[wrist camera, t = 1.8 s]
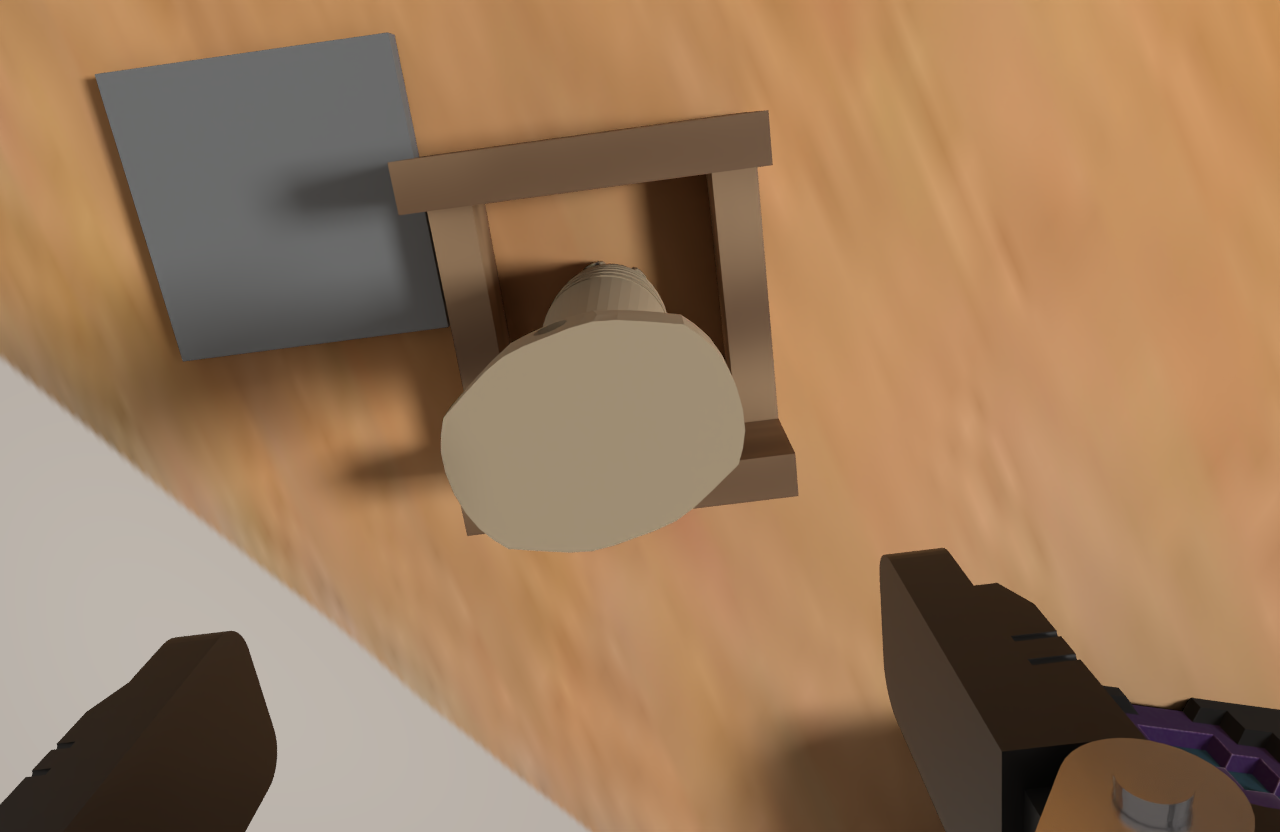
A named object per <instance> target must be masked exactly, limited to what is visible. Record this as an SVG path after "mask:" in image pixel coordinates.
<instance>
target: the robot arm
mask: <svg viewBox="0 0 1280 832" xmlns="http://www.w3.org/2000/svg"><path fill="white" fill-rule="evenodd" d="M880 593H881V614H882V635H883V656H884V670H885V678H886V684H887V689H888V694H889V698H890V702H891V706H892V709H893V712H894V715H895V717H896V720H897V722H898V725H899V727H900V729H901V731H902V734H903V736H904V738H905V740H906V743H907V745H908V747H909V750H910V752H911V754H912V756H913V759H914V761H915V763H916V765H917V768H918V770H919V772H920V775H921V777H922V779H923V781H924V784H925V786H926V788H927V790H928V793H929V795H930V797H931V800H932V802H933V804H934V806H935V809H936V811H937V813H938V815H939V818H940V820H941V822H942V825H943V827H944V829H945V831H946V832H1280V809H1275V808H1269V807H1263V806H1259V805H1255V804H1252V803H1249V801H1248V799H1247V797H1246V796H1245V794H1244V793H1243V792H1242V790H1241V789H1240V788H1239V787H1238V786H1237V785H1236V783H1235V782H1234V781H1232V780H1231V779H1230V778H1229V777H1228V776H1227V775H1226V774H1224V773H1223V772H1222V771H1220V770H1219V769H1217V768H1216V767H1215V766H1213V765H1212V764H1210V763H1208V762H1207V761H1205V760H1203V759H1201V758H1199V757H1197V756H1196V755H1193V754H1191V753H1189V752H1186V751H1184V750H1182V749H1179V748H1176V747H1173V746H1170V745H1167V744H1163V743H1158V742H1154V741H1150V740H1147V739H1146V738H1145V737H1144V735H1143V734H1142V733H1141V732H1140V731H1139V729H1138V728H1137V727H1136V726H1135V725H1134V723H1133V722H1132V721H1131V720H1130V719H1129V717H1128V716H1127V715H1126V714H1125V713H1124V711H1123V710H1122V709H1121V708H1120V707H1119V705H1118V704H1117V703H1116V702H1115V701H1114V699H1113V698H1112V697H1111V696H1110V695H1109V693H1108V692H1107V691H1106V690H1105V689H1104V687H1103V686H1102V685H1101V684H1100V683H1099V681H1098V680H1097V679H1096V678H1095V677H1094V675H1093V674H1092V673H1091V672H1090V671H1089V669H1088V668H1087V667H1086V666H1085V665H1084V663H1083V662H1082V661H1081V660H1077V659H1076V654H1075V652H1074V651H1073V650H1072V649H1071V648H1070V646H1069V645H1068V644H1067V643H1066V642H1065V640H1064V639H1063V638H1062V637H1061V636H1060V637H1058V636H1057V631H1056V630H1055V628H1054V627H1053V626H1052V625H1051V624H1050V622H1049V621H1048V620H1047V619H1046V618H1045V616H1044V615H1043V614H1042V613H1041V612H1040V610H1039V609H1038V608H1037V607H1036V606H1035V604H1033V603H1032V602H1030V601H1028V600H1026V599H1025V598H1023V597H1021V596H1019V595H1018V594H1016V593H1014V592H1012V591H1010V590H1009V589H1007V588H1005V587H1003V586H1002V585H1000V584H998V583H993V584H984V585H976V586H974V585H973V584H972V583H971V581H970V580H969V579H968V577H967V576H966V575H965V573H964V572H963V571H962V569H961V568H960V566H959V565H958V564H957V562H956V561H955V560H954V558H953V557H952V556H951V554H950V553H949V552H948V551H947V550H946V549H945V548H937V549H929V550H921V551H912V552H904V553H895V554H887V555H883V556H882V557H881V561H880ZM276 761H277V741H276V736H275V731H274V728H273V725H272V721H271V718H270V715H269V712H268V709H267V706H266V702H265V699H264V696H263V693H262V690H261V687H260V683H259V680H258V677H257V674H256V671H255V668H254V665H253V662H252V658H251V655H250V652H249V649H248V647H247V644H246V642H245V640H244V639H243V637H242V636H241V635H240V634H239V633H237V632H235V631H226V632H218V633H209V634H201V635H192V636H184V637H175V638H171V639H170V640H168V641H166V643H164V644H163V645H162V646H161V648H160V649H159V650H158V651H157V652H156V653H155V654H154V655H153V656H152V657H151V659H150V660H149V661H148V662H147V663H146V664H145V665H144V666H143V667H142V668H141V670H140V671H139V672H138V673H137V674H136V675H135V676H134V678H133V679H132V680H131V681H130V682H129V683H127V684H126V685H125V686H123V687H122V688H120V689H119V690H117V691H116V692H114V693H113V694H112V695H110V696H109V697H107V698H106V699H104V700H103V701H102V702H100V703H99V704H97V705H96V706H94V707H93V708H91V709H90V710H89V711H87V712H86V713H85V714H84V715H83V716H82V717H81V718H80V720H79V721H78V722H77V723H76V724H75V725H74V726H73V727H72V728H71V729H70V730H69V731H68V732H67V733H66V735H65V736H64V737H63V738H62V739H61V740H60V741H59V742H58V743H57V749H56V750H51V751H50V752H49V753H48V754H47V755H46V756H45V757H44V758H43V759H42V760H41V761H40V763H39V764H38V765H37V766H36V767H35V768H34V769H33V770H32V772H33V774H32V777H26V778H25V779H24V780H23V781H22V782H21V783H20V784H19V785H18V786H17V787H16V788H15V789H14V791H12V793H11V794H10V795H9V796H8V797H7V798H6V799H5V800H4V801H3V802H2V803H1V804H0V832H245V831H246V829H247V827H248V826H249V824H250V822H251V820H252V818H253V816H254V815H255V813H256V811H257V809H258V807H259V806H260V804H261V802H262V800H263V798H264V796H265V795H266V793H267V791H268V789H269V787H270V785H271V783H272V780H273V777H274V773H275V769H276Z"/></svg>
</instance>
